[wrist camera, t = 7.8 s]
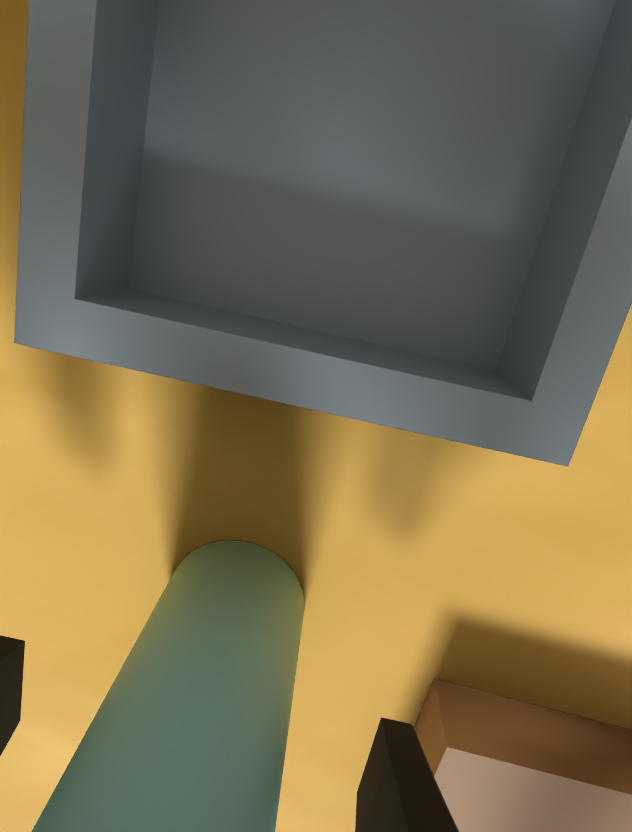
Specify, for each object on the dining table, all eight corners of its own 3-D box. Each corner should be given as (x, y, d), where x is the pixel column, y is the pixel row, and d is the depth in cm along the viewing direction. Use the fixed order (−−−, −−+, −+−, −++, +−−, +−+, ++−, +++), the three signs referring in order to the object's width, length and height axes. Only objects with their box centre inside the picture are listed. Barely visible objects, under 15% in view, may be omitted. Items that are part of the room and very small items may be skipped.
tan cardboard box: (705, 739, 15) (772, 831, 13) (615, 880, 17) (658, 983, 15) (431, 667, 15) (447, 747, 13) (371, 817, 17) (374, 910, 14)
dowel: (317, 557, 14) (273, 942, 6) (290, 669, 15) (224, 1115, 7) (178, 527, 14) (-38, 874, 6) (161, 641, 15) (-40, 1058, 7)
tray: (706, -121, 9) (857, -278, 7) (518, 417, 12) (568, 466, 10) (138, -254, 9) (48, -468, 6) (90, 321, 12) (13, 343, 9)
